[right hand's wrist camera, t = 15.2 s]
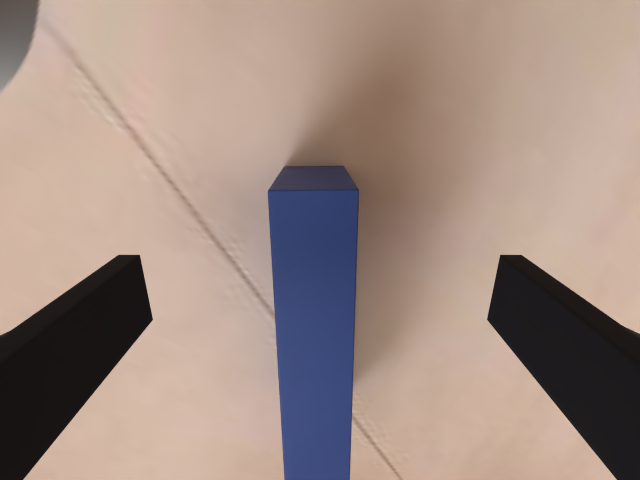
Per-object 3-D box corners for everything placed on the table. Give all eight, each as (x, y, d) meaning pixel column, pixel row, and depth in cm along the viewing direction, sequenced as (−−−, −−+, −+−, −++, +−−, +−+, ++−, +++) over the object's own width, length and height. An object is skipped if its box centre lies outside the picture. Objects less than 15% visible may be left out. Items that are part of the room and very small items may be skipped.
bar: (283, 166, 25) (267, 190, 17) (343, 165, 25) (359, 189, 17) (293, 397, 33) (285, 498, 24) (339, 396, 33) (349, 497, 24)
